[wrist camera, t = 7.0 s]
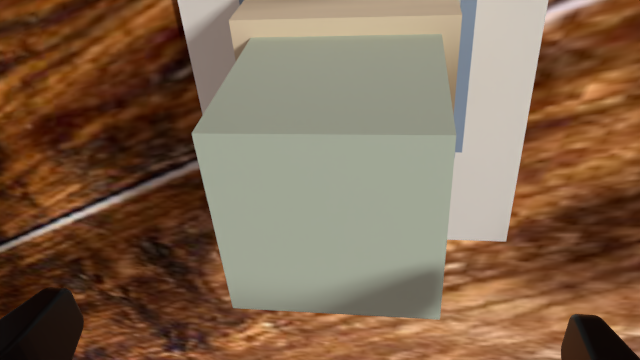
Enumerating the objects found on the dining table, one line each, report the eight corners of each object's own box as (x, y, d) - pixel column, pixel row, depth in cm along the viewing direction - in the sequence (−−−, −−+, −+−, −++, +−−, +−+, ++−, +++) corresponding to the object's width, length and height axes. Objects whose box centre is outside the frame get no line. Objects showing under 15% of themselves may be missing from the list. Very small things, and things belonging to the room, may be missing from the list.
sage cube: (431, 191, 17) (439, 319, 13) (272, 187, 17) (233, 307, 13) (441, 33, 14) (456, 135, 10) (250, 37, 14) (191, 133, 10)
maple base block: (439, 138, 20) (446, 204, 17) (281, 137, 21) (259, 200, 18) (451, -30, 17) (461, 14, 13) (261, -23, 18) (228, 20, 14)
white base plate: (504, 235, 23) (506, 241, 23) (230, 226, 25) (227, 232, 24) (586, -245, 14) (591, -245, 13) (138, -205, 15) (131, -205, 15)
